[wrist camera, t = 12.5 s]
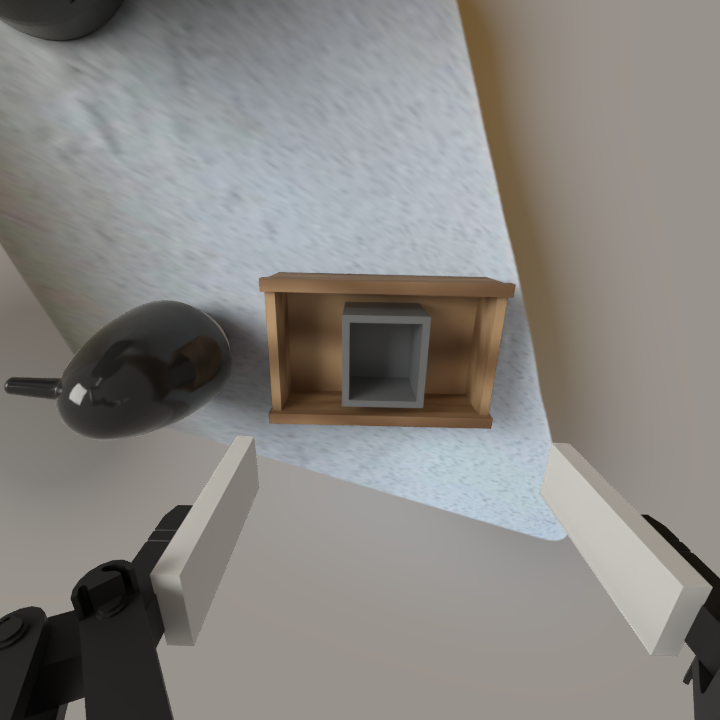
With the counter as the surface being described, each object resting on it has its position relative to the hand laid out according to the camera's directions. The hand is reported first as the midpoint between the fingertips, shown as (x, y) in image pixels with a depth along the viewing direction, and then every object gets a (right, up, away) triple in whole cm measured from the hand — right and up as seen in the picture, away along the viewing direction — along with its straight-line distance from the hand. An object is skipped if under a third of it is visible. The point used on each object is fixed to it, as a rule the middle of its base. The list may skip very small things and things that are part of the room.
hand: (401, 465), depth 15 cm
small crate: (0, +6, +19) cm, 20 cm away
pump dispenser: (-19, +6, +20) cm, 28 cm away
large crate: (0, +7, +19) cm, 21 cm away
